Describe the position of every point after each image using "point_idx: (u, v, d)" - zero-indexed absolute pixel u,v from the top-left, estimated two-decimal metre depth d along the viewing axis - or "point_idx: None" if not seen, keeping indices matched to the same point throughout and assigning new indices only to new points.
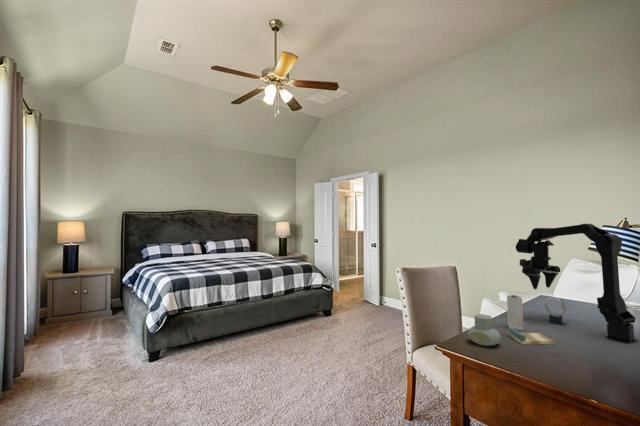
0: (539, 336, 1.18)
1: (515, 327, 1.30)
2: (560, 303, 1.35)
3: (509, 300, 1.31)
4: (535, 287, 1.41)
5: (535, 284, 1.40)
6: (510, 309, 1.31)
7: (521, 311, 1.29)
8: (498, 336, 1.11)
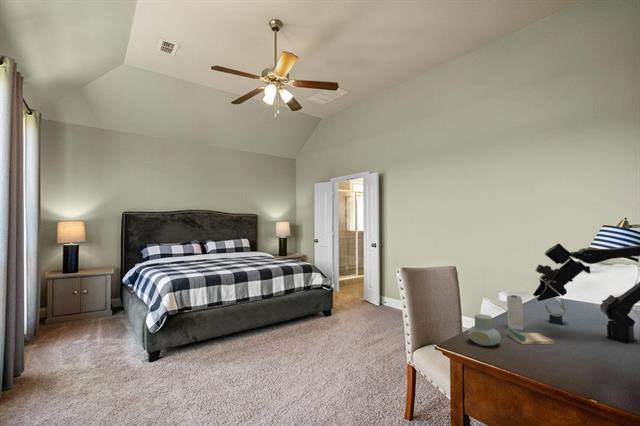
0: (539, 336, 1.18)
1: (515, 327, 1.30)
2: (560, 303, 1.35)
3: (509, 300, 1.31)
4: (540, 299, 1.24)
5: (544, 298, 1.23)
6: (510, 309, 1.31)
7: (521, 311, 1.29)
8: (498, 336, 1.11)
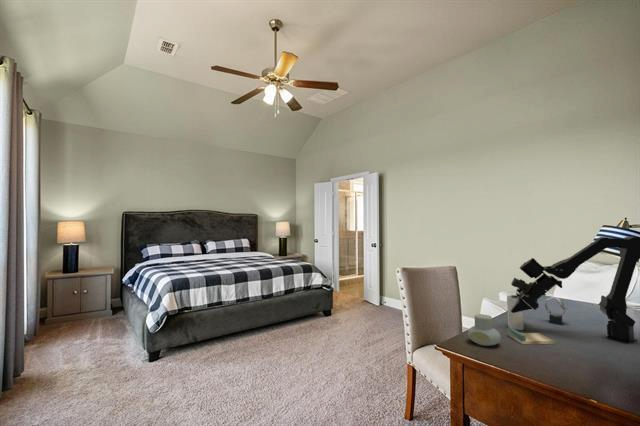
0: (539, 336, 1.18)
1: (515, 327, 1.30)
2: (560, 303, 1.35)
3: (509, 300, 1.31)
4: (514, 311, 1.29)
5: (518, 310, 1.28)
6: (510, 309, 1.31)
7: (521, 311, 1.29)
8: (498, 336, 1.11)
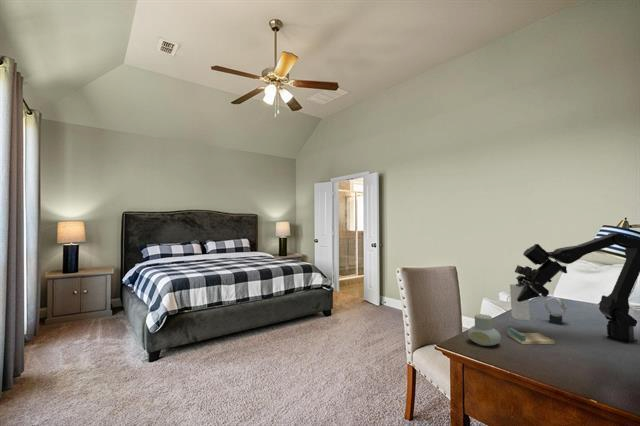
0: (539, 336, 1.18)
1: (521, 317, 1.24)
2: (560, 303, 1.35)
3: (515, 289, 1.25)
4: (521, 300, 1.23)
5: (525, 298, 1.23)
6: (516, 298, 1.24)
7: (527, 300, 1.23)
8: (498, 336, 1.11)
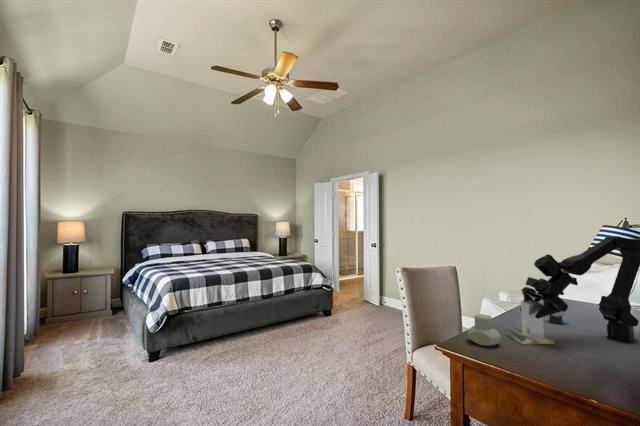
0: None
1: (536, 337, 1.15)
2: None
3: (529, 307, 1.16)
4: (539, 317, 1.13)
5: (543, 315, 1.13)
6: (531, 317, 1.16)
7: (542, 318, 1.15)
8: (498, 336, 1.11)
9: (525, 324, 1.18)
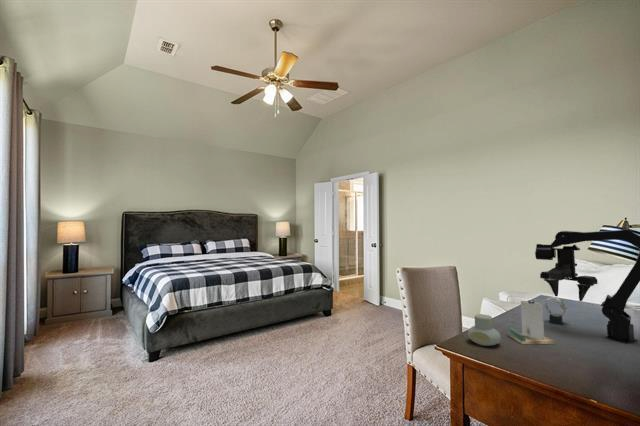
0: None
1: (536, 337, 1.15)
2: (560, 303, 1.35)
3: (529, 307, 1.16)
4: (582, 298, 1.24)
5: (584, 295, 1.23)
6: (531, 317, 1.16)
7: (542, 318, 1.15)
8: (498, 336, 1.11)
9: (525, 324, 1.18)
